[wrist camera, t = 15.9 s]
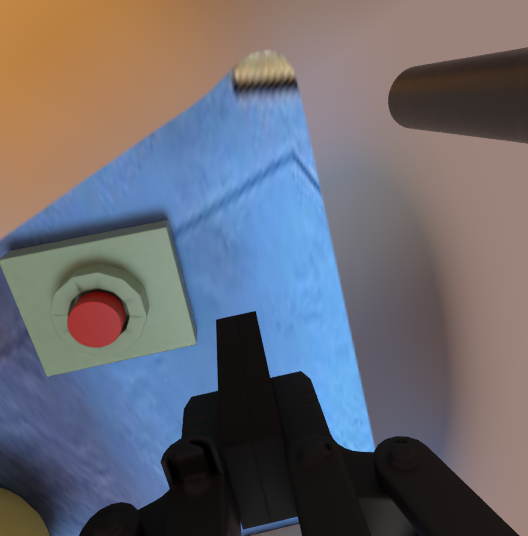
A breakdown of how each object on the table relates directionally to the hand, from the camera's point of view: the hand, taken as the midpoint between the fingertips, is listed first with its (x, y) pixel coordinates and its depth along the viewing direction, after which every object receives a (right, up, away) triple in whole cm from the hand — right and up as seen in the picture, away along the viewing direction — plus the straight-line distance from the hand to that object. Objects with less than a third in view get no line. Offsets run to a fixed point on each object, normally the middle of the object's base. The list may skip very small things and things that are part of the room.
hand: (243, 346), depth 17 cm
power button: (-11, 0, +15) cm, 19 cm away
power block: (-12, +1, +19) cm, 22 cm away
